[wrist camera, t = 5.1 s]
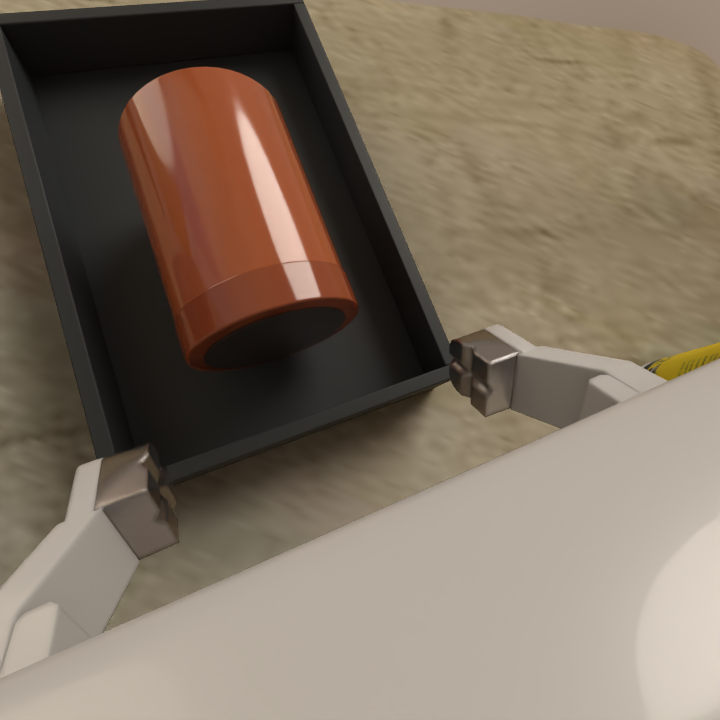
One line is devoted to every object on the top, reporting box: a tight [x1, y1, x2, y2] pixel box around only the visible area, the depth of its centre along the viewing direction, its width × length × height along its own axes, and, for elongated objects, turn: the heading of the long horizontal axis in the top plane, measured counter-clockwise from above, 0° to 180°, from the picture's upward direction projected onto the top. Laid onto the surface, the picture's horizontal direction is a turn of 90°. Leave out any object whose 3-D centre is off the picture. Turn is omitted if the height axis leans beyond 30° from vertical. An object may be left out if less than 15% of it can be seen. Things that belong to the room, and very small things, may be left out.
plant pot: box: [118, 67, 359, 372], centre depth 16 cm, size 7×7×9 cm
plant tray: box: [0, 0, 453, 485], centre depth 19 cm, size 21×14×3 cm
